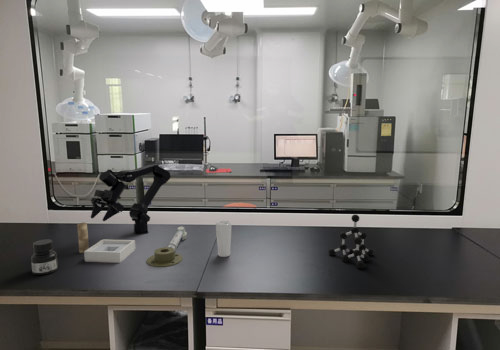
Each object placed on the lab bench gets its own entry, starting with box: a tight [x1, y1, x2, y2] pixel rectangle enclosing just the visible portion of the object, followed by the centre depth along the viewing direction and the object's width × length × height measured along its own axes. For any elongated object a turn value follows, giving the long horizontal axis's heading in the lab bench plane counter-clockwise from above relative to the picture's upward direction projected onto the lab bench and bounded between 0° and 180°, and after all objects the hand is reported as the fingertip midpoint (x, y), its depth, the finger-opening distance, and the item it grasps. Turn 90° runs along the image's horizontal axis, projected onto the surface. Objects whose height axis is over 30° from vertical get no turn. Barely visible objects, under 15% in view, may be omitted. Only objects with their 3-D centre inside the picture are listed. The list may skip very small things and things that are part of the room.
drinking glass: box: [215, 220, 232, 258], centre depth 154 cm, size 7×7×15 cm
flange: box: [146, 246, 184, 268], centre depth 150 cm, size 5×15×15 cm
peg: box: [76, 222, 90, 254], centre depth 159 cm, size 4×4×13 cm
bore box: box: [83, 239, 136, 264], centre depth 155 cm, size 16×16×4 cm
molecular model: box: [328, 214, 374, 270], centre depth 150 cm, size 18×20×20 cm
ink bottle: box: [30, 238, 59, 276], centre depth 138 cm, size 10×9×12 cm
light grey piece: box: [166, 226, 187, 252], centre depth 167 cm, size 5×7×25 cm
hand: (97, 219), depth 165 cm, fingers open, 9 cm apart
